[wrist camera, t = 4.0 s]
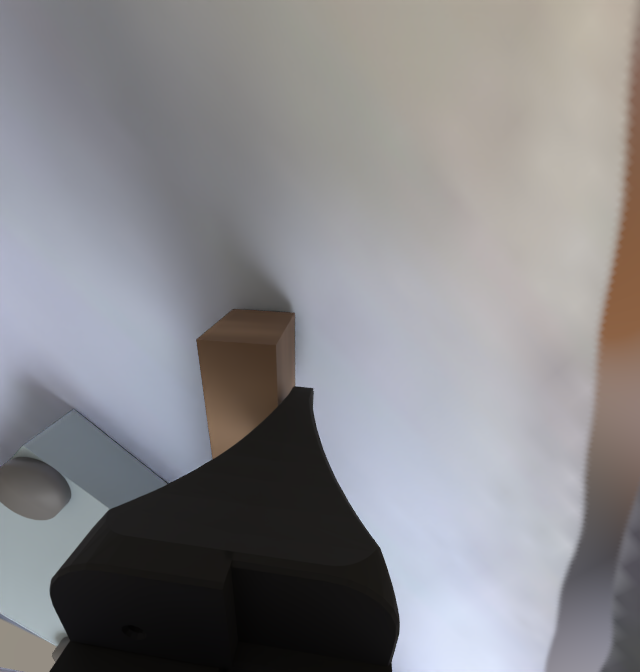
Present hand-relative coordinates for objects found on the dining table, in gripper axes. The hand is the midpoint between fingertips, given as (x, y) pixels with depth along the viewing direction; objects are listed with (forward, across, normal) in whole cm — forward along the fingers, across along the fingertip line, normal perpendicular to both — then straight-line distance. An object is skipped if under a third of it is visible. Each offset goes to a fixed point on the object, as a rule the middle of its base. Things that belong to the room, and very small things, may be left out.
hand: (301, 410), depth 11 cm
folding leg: (+2, +2, +4) cm, 5 cm away
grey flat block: (+2, +12, +12) cm, 17 cm away
